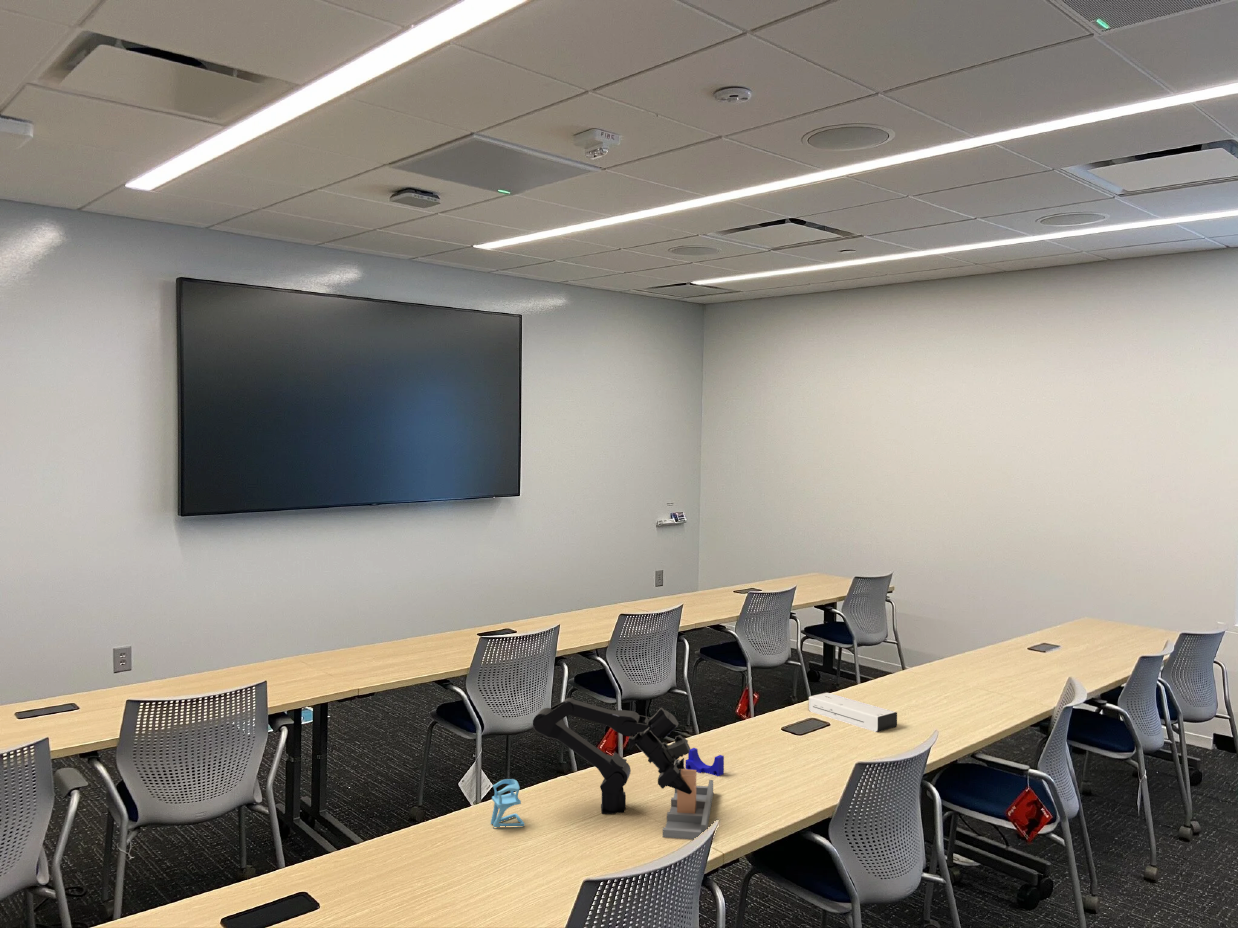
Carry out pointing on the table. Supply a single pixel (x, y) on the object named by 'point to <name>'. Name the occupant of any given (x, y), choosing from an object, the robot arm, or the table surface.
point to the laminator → (852, 712)
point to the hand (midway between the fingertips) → (691, 789)
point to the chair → (505, 803)
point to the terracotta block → (684, 800)
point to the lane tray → (690, 815)
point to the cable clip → (699, 766)
